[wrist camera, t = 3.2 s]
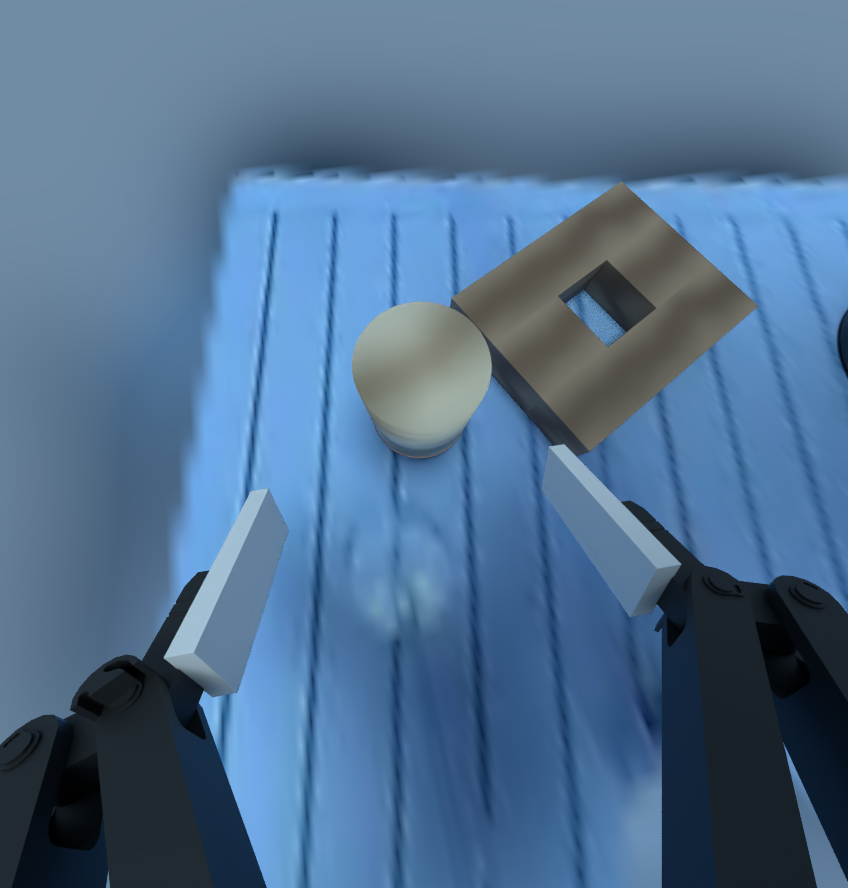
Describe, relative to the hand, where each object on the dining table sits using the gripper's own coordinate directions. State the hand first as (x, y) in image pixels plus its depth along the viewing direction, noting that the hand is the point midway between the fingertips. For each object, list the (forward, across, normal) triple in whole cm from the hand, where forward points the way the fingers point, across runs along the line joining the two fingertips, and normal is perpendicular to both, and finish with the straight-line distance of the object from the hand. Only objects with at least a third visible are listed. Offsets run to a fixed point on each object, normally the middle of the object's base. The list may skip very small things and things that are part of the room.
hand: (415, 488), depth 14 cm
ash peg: (+11, +1, -3) cm, 12 cm away
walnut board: (+16, +18, +2) cm, 24 cm away
